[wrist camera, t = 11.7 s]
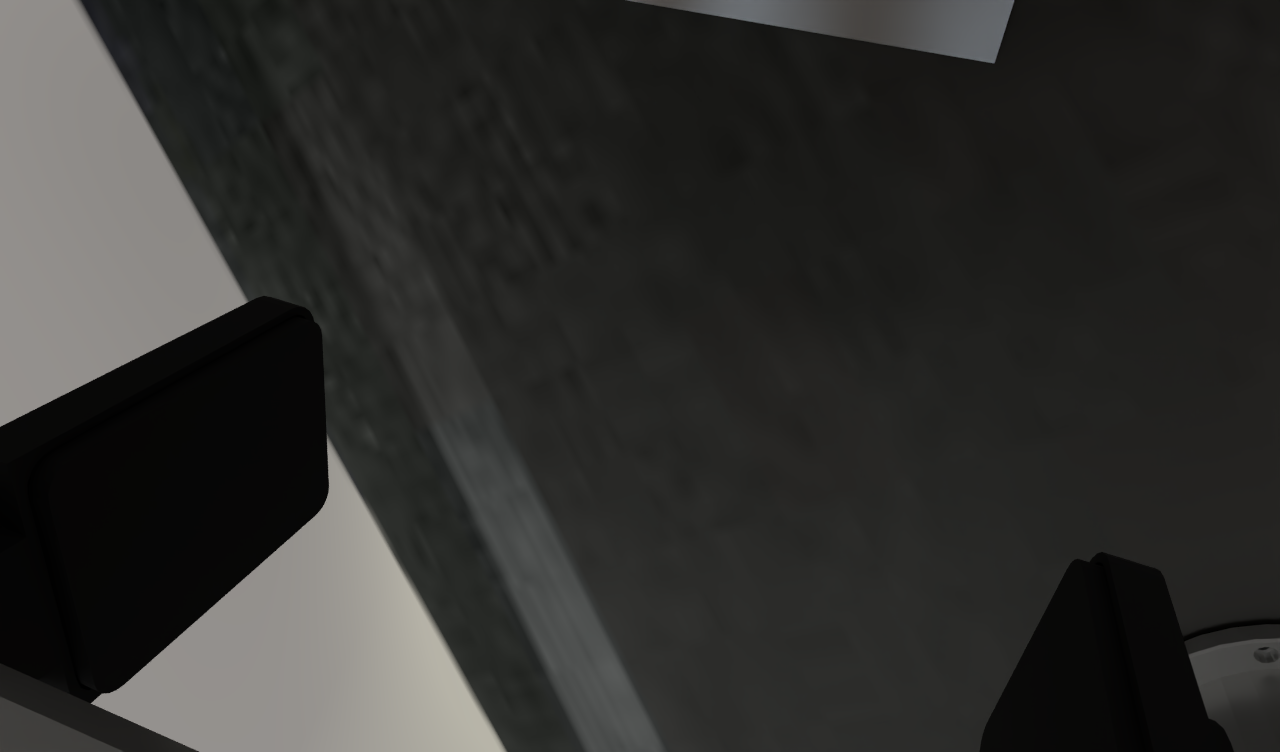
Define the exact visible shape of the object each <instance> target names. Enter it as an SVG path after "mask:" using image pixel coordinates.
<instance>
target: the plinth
mask: <svg viewBox="0 0 1280 752" xmlns="http://www.w3.org/2000/svg"><path fill="white" fill-rule="evenodd" d="M628 1H634V2H640V3H646V4H652V5H657V6H663V7H669V8H675V9H681V10H686V11H692V12H698V13H704V14H710V15H716V16H721V17H727V18H733V19H739V20H745V21H750V22H756V23H762V24H768V25H774V26H780V27H785V28H791V29H797V30H803V31H809V32H814V33H820V34H826V35H832V36H838V37H843V38H849V39H855V40H861V41H867V42H873V43H878V44H884V45H890V46H896V47H902V48H907V49H913V50H919V51H925V52H931V53H937V54H942V55H948V56H954V57H960V58H966V59H971V60H977V61H983V62H989V63H995V60H996V57H997V54H998V50H999V47H1000V44H1001V41H1002V38H1003V35H1004V32H1005V28H1006V25H1007V22H1008V19H1009V16H1010V13H1011V10H1012V6H1013V3H1014V0H628Z"/></svg>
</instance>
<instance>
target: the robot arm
mask: <svg viewBox="0 0 1280 752" xmlns="http://www.w3.org/2000/svg"><path fill="white" fill-rule="evenodd" d="M328 490H329V479H328V456H327V434H326V412H325V390H324V368H323V346H322V333H321V329H320V327H319V325H318V324H317V323H315V322H314V319H313V316H312V314H311V313H310V311H309V310H307V309H306V308H305V307H301V306H298V305H295V304H292V303H288V302H285V301H282V300H279V299H275V298H272V297H267V296H262V297H259V298H256V299H254V300H252V301H250V302H248V303H246V304H244V305H242V306H240V307H238V308H236V309H234V310H232V311H230V312H228V313H226V314H224V315H222V316H220V317H218V318H216V319H214V320H212V321H210V322H208V323H206V324H204V325H202V326H200V327H198V328H196V329H194V330H192V331H190V332H188V333H186V334H184V335H182V336H180V337H178V338H176V339H174V340H172V341H170V342H168V343H166V344H164V345H162V346H160V347H158V348H156V349H154V350H152V351H150V352H148V353H146V354H144V355H142V356H140V357H139V358H136V359H135V360H132V361H130V362H128V363H126V364H124V365H122V366H120V367H119V368H116V369H114V370H112V371H111V372H109V373H107V374H105V375H103V376H101V377H99V378H97V379H95V380H93V381H91V382H89V383H87V384H85V385H83V386H81V387H79V388H77V389H75V390H73V391H71V392H69V393H67V394H65V395H63V396H61V397H59V398H57V399H55V400H53V401H51V402H49V403H47V404H45V405H43V406H41V407H39V408H37V409H35V410H33V411H31V412H29V413H27V414H25V415H23V416H21V417H19V418H17V419H15V420H13V421H11V422H9V423H7V424H5V425H3V426H1V427H0V752H198V751H196V750H194V749H191V748H189V747H187V746H185V745H183V744H180V743H178V742H176V741H173V740H171V739H169V738H167V737H164V736H162V735H160V734H158V733H156V732H153V731H151V730H149V729H147V728H144V727H142V726H140V725H138V724H135V723H133V722H131V721H129V720H126V719H124V718H122V717H120V716H117V715H115V714H113V713H111V712H108V711H106V710H104V709H102V708H99V707H97V706H95V705H93V704H90V703H92V702H93V701H94V700H95V699H96V698H97V697H98V696H100V695H101V694H102V693H110V692H113V691H115V690H117V689H119V688H120V687H121V686H123V685H124V684H125V683H126V682H127V681H129V680H130V679H131V678H132V677H133V676H134V675H135V674H136V673H138V672H139V671H140V670H141V669H142V668H143V667H144V666H146V665H147V664H148V663H149V662H150V661H151V660H152V659H153V658H154V657H156V656H157V655H158V654H159V653H160V652H161V651H162V650H164V649H165V648H166V647H167V646H168V645H169V644H170V643H172V642H173V641H174V640H175V639H176V638H177V637H178V636H179V635H181V634H182V633H183V632H184V631H185V630H186V629H187V628H188V627H190V626H191V625H192V624H193V623H194V622H195V621H197V620H198V619H199V618H200V617H201V616H202V615H203V614H204V613H206V612H207V611H208V610H209V609H210V608H211V607H212V606H213V605H215V604H216V603H217V602H218V601H219V600H220V599H221V598H222V597H224V596H225V595H226V594H227V593H228V592H229V591H230V590H231V589H233V588H234V587H235V586H236V585H237V584H238V583H239V582H241V581H242V580H243V579H244V578H245V577H246V576H247V575H249V574H250V573H251V572H252V571H253V570H254V569H255V568H256V567H258V566H259V565H260V564H261V563H262V562H263V561H264V560H265V559H267V558H268V557H269V556H270V555H271V554H272V553H273V552H275V551H276V550H277V549H278V548H279V547H280V546H281V545H282V544H284V543H285V542H286V541H287V540H288V539H289V538H290V537H292V536H293V535H294V534H295V533H296V532H297V531H298V530H300V529H301V528H302V527H303V526H304V525H305V524H306V523H307V522H308V521H310V520H311V519H312V518H313V517H314V516H315V515H316V514H317V513H318V512H319V511H320V510H321V508H322V507H323V505H324V503H325V501H326V498H327V495H328ZM980 752H1280V625H1279V624H1263V625H1253V626H1244V627H1234V628H1229V629H1224V630H1220V631H1216V632H1211V633H1207V634H1203V635H1199V636H1197V637H1194V638H1192V639H1189V640H1187V641H1184V639H1183V636H1182V633H1181V630H1180V627H1179V623H1178V620H1177V617H1176V614H1175V611H1174V608H1173V604H1172V601H1171V598H1170V595H1169V592H1168V589H1167V585H1166V582H1165V579H1164V577H1163V575H1162V573H1161V571H1159V570H1157V569H1155V568H1152V567H1149V566H1146V565H1142V564H1139V563H1136V562H1133V561H1129V560H1126V559H1123V558H1120V557H1116V556H1113V555H1110V554H1107V553H1103V552H1101V553H1097V554H1096V555H1095V556H1094V557H1093V558H1092V560H1091V561H1090V562H1086V561H1083V560H1080V559H1075V560H1074V561H1073V562H1072V563H1071V564H1070V565H1069V567H1068V569H1067V570H1066V572H1065V574H1064V576H1063V578H1062V580H1061V582H1060V584H1059V586H1058V588H1057V590H1056V592H1055V593H1054V595H1053V597H1052V599H1051V601H1050V603H1049V605H1048V607H1047V609H1046V611H1045V613H1044V615H1043V616H1042V618H1041V620H1040V622H1039V624H1038V626H1037V628H1036V630H1035V632H1034V634H1033V636H1032V638H1031V640H1030V641H1029V643H1028V645H1027V647H1026V649H1025V651H1024V653H1023V655H1022V657H1021V659H1020V661H1019V663H1018V664H1017V666H1016V668H1015V670H1014V672H1013V674H1012V676H1011V678H1010V680H1009V682H1008V684H1007V686H1006V687H1005V689H1004V691H1003V693H1002V695H1001V697H1000V699H999V701H998V703H997V705H996V707H995V709H994V710H993V712H992V714H991V716H990V718H989V720H988V722H987V724H986V727H985V730H984V733H983V736H982V741H981V747H980Z"/></svg>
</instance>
